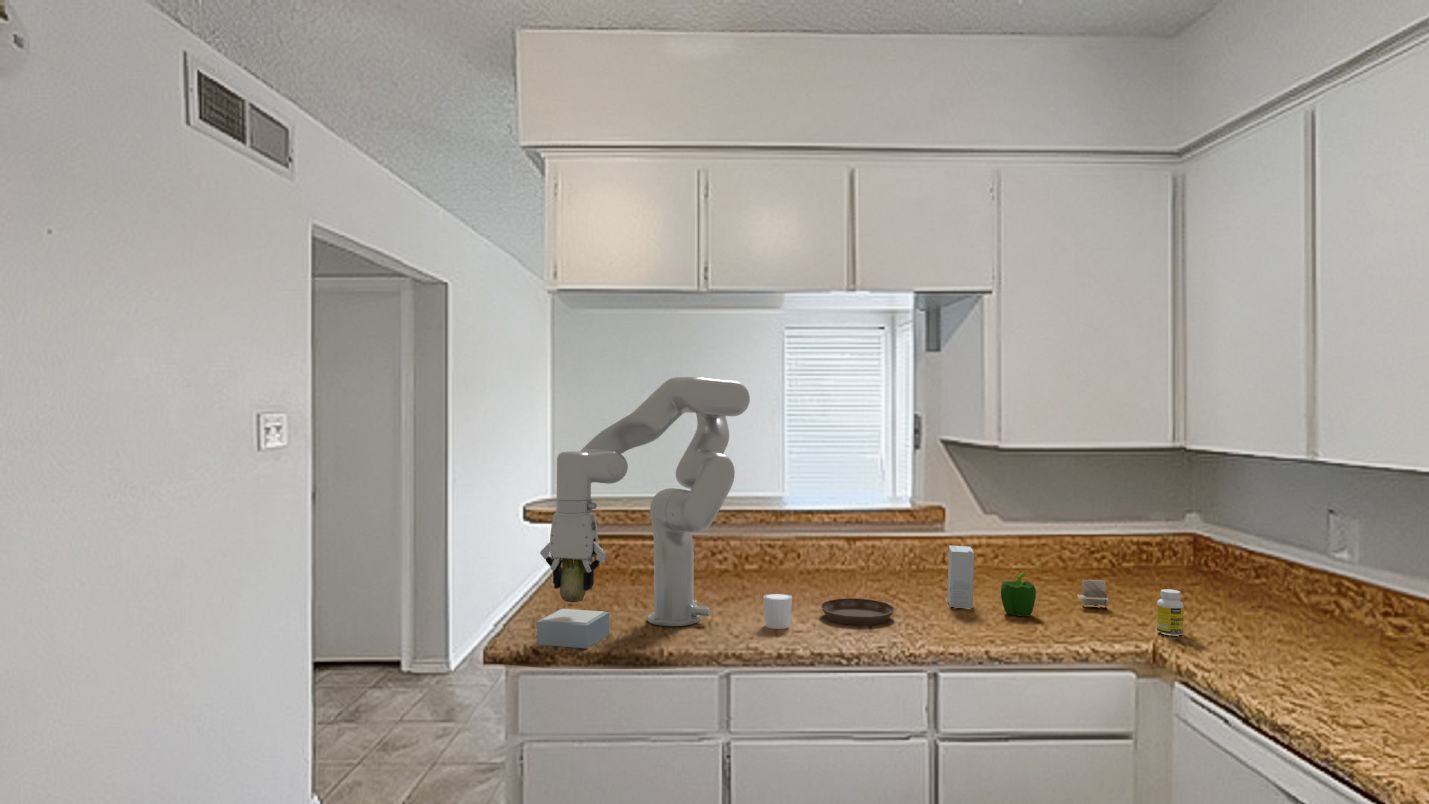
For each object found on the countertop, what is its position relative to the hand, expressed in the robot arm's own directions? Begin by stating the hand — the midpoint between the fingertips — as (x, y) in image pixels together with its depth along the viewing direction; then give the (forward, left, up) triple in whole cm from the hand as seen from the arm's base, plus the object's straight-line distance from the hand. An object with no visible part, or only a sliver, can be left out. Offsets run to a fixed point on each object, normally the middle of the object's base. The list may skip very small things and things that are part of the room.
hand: (573, 587), depth 202 cm
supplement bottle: (-128, -41, -12) cm, 135 cm away
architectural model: (-115, -63, -12) cm, 132 cm away
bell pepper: (-96, -51, -12) cm, 109 cm away
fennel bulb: (0, 0, -3) cm, 3 cm away
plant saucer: (-58, -37, -12) cm, 70 cm away
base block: (0, 0, -11) cm, 11 cm away
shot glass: (-41, -24, -12) cm, 49 cm away
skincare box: (-82, -57, -12) cm, 101 cm away
